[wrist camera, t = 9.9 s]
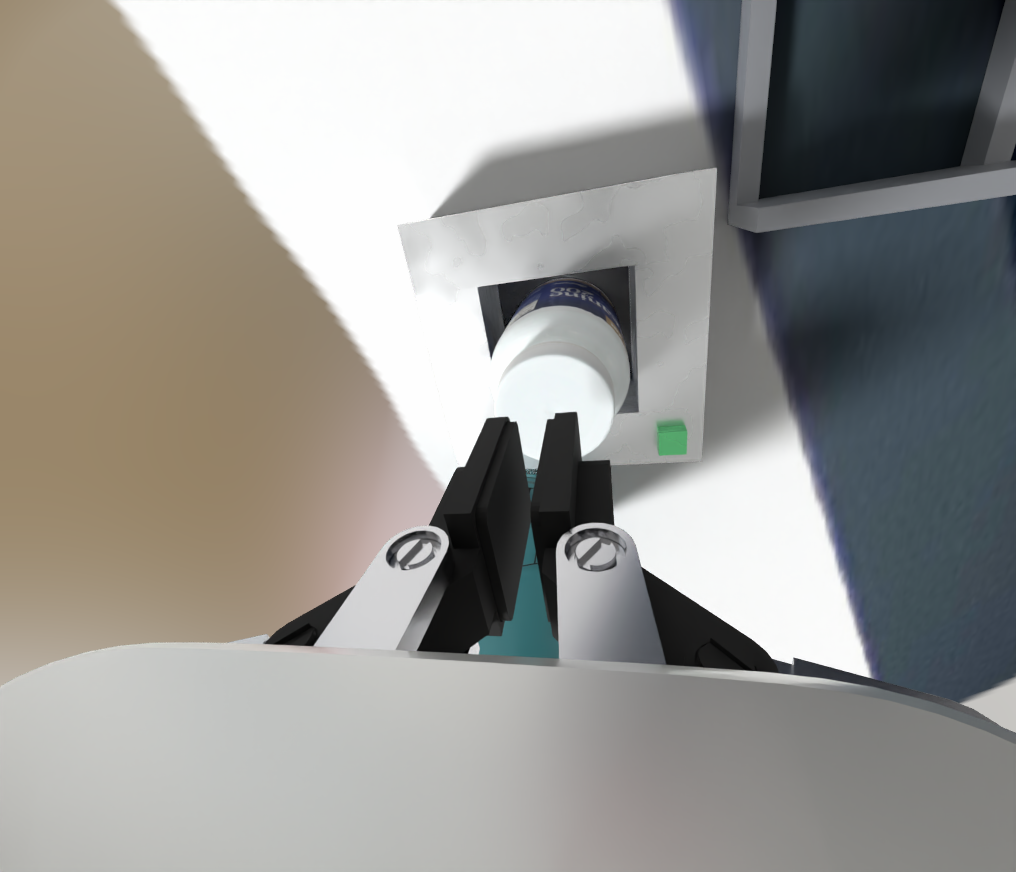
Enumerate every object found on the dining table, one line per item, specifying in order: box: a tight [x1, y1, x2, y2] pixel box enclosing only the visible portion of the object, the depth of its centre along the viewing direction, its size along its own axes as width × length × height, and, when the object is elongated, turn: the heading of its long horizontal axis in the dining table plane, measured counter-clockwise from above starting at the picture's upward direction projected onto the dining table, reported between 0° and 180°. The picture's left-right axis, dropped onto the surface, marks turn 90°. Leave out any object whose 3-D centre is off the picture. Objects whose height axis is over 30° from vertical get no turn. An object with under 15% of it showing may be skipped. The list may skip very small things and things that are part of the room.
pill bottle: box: [489, 278, 630, 460], centre depth 19 cm, size 5×5×10 cm
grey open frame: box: [728, 0, 1016, 233], centre depth 15 cm, size 9×9×4 cm
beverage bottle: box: [479, 474, 559, 659], centre depth 20 cm, size 6×7×20 cm
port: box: [398, 168, 717, 469], centre depth 21 cm, size 12×12×5 cm
